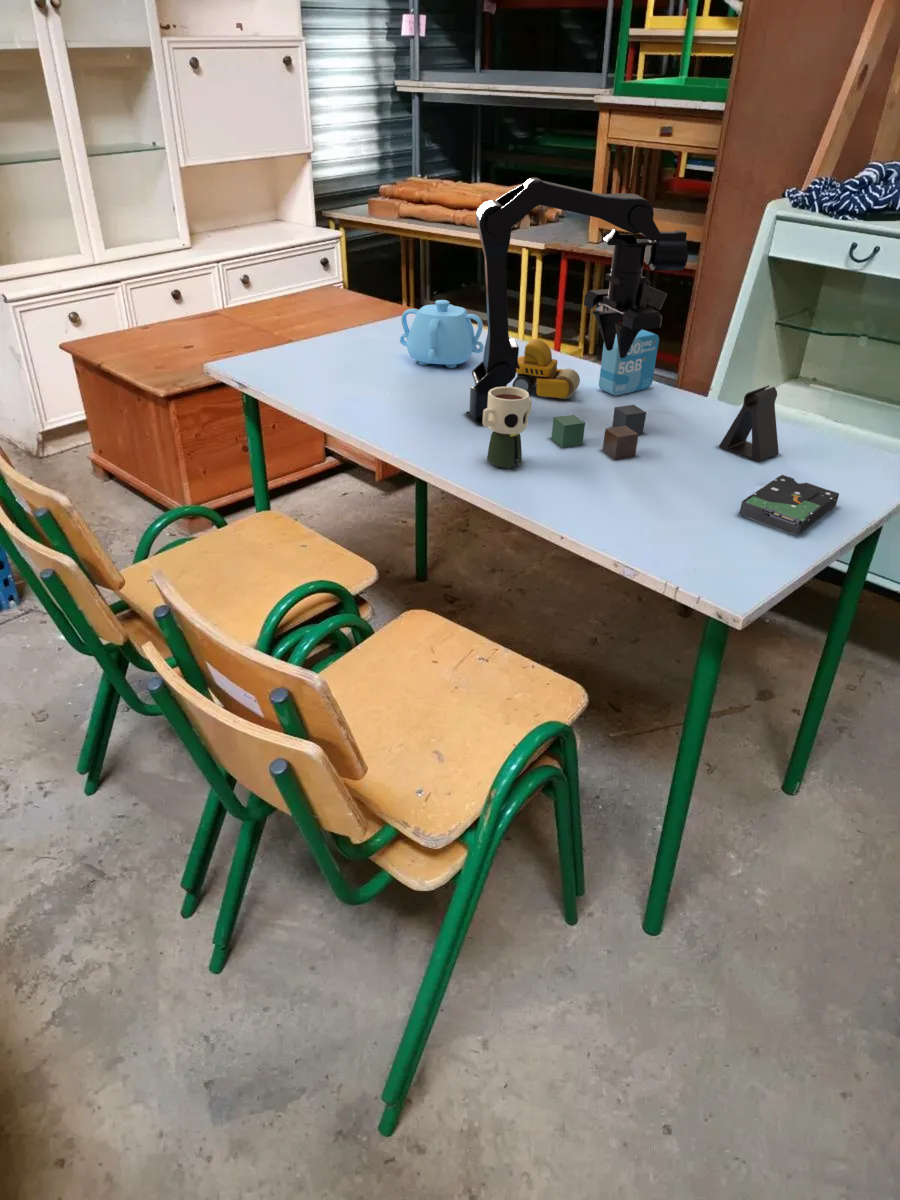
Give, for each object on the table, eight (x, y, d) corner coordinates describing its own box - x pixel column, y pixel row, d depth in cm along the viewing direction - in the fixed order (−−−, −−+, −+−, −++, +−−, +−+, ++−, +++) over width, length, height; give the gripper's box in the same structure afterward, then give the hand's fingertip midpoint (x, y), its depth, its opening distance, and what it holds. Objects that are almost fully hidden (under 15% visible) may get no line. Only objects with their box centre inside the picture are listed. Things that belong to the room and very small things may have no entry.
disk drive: (776, 488, 151) (737, 515, 142) (780, 473, 150) (741, 500, 140) (835, 508, 145) (799, 537, 136) (840, 492, 144) (803, 521, 134)
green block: (562, 447, 163) (564, 425, 161) (551, 439, 167) (553, 417, 164) (582, 444, 165) (585, 422, 162) (571, 436, 168) (573, 414, 166)
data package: (611, 397, 187) (618, 341, 180) (597, 390, 190) (604, 335, 184) (652, 388, 193) (660, 333, 186) (637, 382, 196) (645, 328, 189)
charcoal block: (623, 436, 169) (626, 414, 166) (611, 428, 172) (614, 407, 170) (643, 433, 170) (646, 412, 168) (630, 425, 173) (634, 404, 171)
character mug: (494, 477, 151) (498, 405, 144) (468, 463, 156) (471, 393, 149) (540, 462, 157) (546, 393, 150) (513, 449, 162) (518, 381, 155)
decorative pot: (457, 347, 214) (459, 290, 207) (487, 366, 202) (490, 306, 195) (396, 354, 208) (395, 295, 201) (423, 374, 196) (423, 313, 189)
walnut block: (614, 459, 159) (617, 437, 157) (602, 450, 163) (605, 428, 160) (635, 456, 161) (638, 434, 158) (622, 447, 164) (625, 425, 162)
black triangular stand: (778, 455, 163) (793, 393, 156) (759, 463, 160) (774, 399, 153) (737, 440, 169) (750, 379, 162) (718, 447, 165) (731, 385, 159)
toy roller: (571, 403, 183) (577, 353, 177) (505, 394, 187) (508, 345, 181) (580, 390, 190) (585, 342, 184) (516, 381, 194) (519, 334, 188)
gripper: (693, 278, 157) (678, 364, 165) (636, 257, 171) (625, 337, 180) (640, 282, 153) (628, 370, 161) (586, 260, 167) (578, 341, 176)
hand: (615, 353), depth 170 cm, fingers open, 5 cm apart
